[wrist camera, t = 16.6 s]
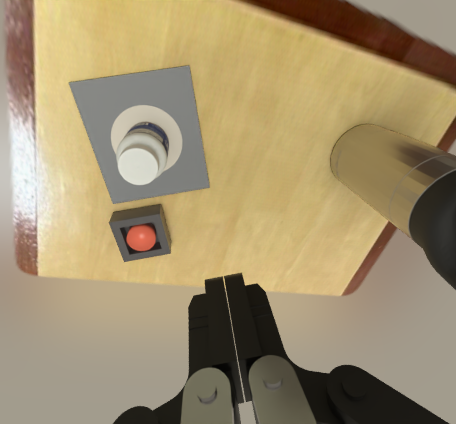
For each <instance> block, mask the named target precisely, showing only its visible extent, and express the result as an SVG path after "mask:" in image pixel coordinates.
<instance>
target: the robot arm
mask: <svg viewBox="0 0 456 424" xmlns="http://www.w3.org/2000/svg"><path fill="white" fill-rule="evenodd" d="M331 168H332V172H333V173H334V175H335V176H336V177H337V178H338V179H339V180H340V181H341V182H342V183H344V184H345V185H346V186H347V187H348V188H349V189H351V190H352V191H353V192H354V193H356V194H357V195H358V196H359V197H360V198H362V199H363V200H364V201H365V202H367V203H368V204H369V205H370V206H371V207H373V208H374V209H375V210H376V211H378V212H379V213H380V214H381V215H382V216H384V217H385V218H386V219H387V220H389V221H390V222H391V223H392V224H393V225H395V226H396V227H397V228H398V229H400V230H401V231H402V232H404V233H405V234H406V235H407V236H408V237H409V238H411V239H412V240H413V241H414V242H416V243H417V244H418V245H419V246H420V247H421V248H423V250H424V252H425V254H426V256H427V258H428V260H429V262H430V264H431V265H432V266H433V268H434V269H435V270H436V271H437V272H438V273H439V274H440V275H441V276H442V277H443V278H444V279H445V280H446V281H447V282H448V283H449V284H450V285H451V286H452V287H453V288H454V289H455V290H456V156H455V155H452V154H450V153H447V152H445V151H442V150H441V149H440V148H437V147H435V146H432V145H429V144H427V143H424V142H421V141H419V140H416V139H413V138H411V137H408V136H405V135H403V134H400V133H397V132H395V131H392V130H387V129H385V128H382V127H379V126H376V125H374V124H363V125H359V126H356V127H354V128H352V129H351V130H349V131H347V132H346V133H345V134H344V135H343V136H342V137H341V138H340V139H339V140H338V142H337V143H336V145H335V147H334V149H333V152H332V155H331ZM224 279H225V285H226V291H227V297H228V302H229V308H230V314H231V320H232V326H233V332H234V338H235V344H236V350H237V356H238V362H239V367H240V372H241V378H242V383H243V388H244V394H245V399H246V402H248V401H252V404H253V410H254V415H255V420H256V424H449V423H448V422H446V421H444V420H443V419H441V418H440V417H438V416H436V415H435V414H433V413H432V412H430V411H428V410H427V409H425V408H423V407H422V406H420V405H419V404H417V403H416V402H414V401H412V400H411V399H409V398H408V397H406V396H404V395H403V394H401V393H400V392H398V391H396V390H395V389H393V388H392V387H390V386H388V385H387V384H385V383H384V382H382V381H380V380H379V379H377V378H376V377H374V376H373V375H371V374H369V373H368V372H366V371H364V370H363V369H361V368H359V367H356V366H352V365H341V366H338V367H336V368H334V369H333V370H332V371H331V372H330V373H321V372H313V371H308V370H305V369H302V368H300V367H298V366H297V365H295V364H294V363H293V362H292V361H291V360H290V359H289V358H288V356H287V354H286V352H285V350H284V347H283V344H282V341H281V338H280V335H279V332H278V328H277V325H276V322H275V319H274V317H273V314H272V311H271V307H270V305H269V301H268V298H267V295H266V292H265V291H264V290H263V289H262V288H261V287H260V286H259V285H258V284H252V285H246V286H245V284H244V280H243V276H242V273H238V274H232V275H227V276H224ZM205 290H206V293H205V294H200V295H195V296H193V298H192V300H191V303H190V305H189V307H188V310H189V311H188V313H189V375H188V379H187V381H186V384H185V386H184V387H183V389H182V390H181V391H180V392H179V394H178V395H177V396H176V397H174V398H173V399H171V400H170V401H168V402H167V403H165V404H163V405H161V406H160V407H158V408H156V409H155V410H153V411H152V410H151V409H149V408H148V407H144V406H137V407H133V408H130V409H128V410H127V411H125V412H124V413H122V414H121V415H120V416H119V417H118V418H117V419H116V420H115V422H114V423H113V424H241V421H240V414H239V407H238V404H239V403H244V399H243V393H242V387H241V381H240V375H239V368H238V362H237V356H236V350H235V345H234V338H233V332H232V326H231V320H230V314H229V308H228V303H227V298H226V292H225V287H224V281H223V276H222V277H217V278H212V279H206V280H205Z"/></svg>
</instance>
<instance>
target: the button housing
mask: <svg viewBox="0 0 456 424" xmlns="http://www.w3.org/2000/svg"><path fill="white" fill-rule="evenodd" d="M145 223H151V224H153V225H154V227H155V228H156V240H155V244H154V246H153V247H152V248H150V249H149V250H146V251H137V250H135V249H133V248H131V247H130V246H129V245H128V243H127V234H128V231H129V228H130V226H134V225H139V224H145ZM109 224H110V227H111V229H112V232H113V234H114V237H115V239H116V242H117V245H118V247H119V250H120V252H121V255H122V257H123V260H124V262H127V261H132V260H138V259H143V258H149V257H154V256H159V255H165V254H170V253H171V239H170V235H169V232H168V228H167V224H166V220H165V217H164V213H163V209H162V206H161V204H158V205H152V206H147V207H141V208H135V209H129V210H123V211H117V212H113V214H112V217H111V219H110V222H109Z"/></svg>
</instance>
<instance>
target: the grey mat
mask: <svg viewBox="0 0 456 424" xmlns="http://www.w3.org/2000/svg"><path fill="white" fill-rule="evenodd" d="M69 85H70V88H71V90H72V93H73V96H74V99H75V101H76V104H77V107H78V110H79V112H80V115H81V118H82V121H83V123H84V126H85V129H86V131H87V134H88V137H89V140H90V142H91V145H92V148H93V151H94V153H95V156H96V159H97V161H98V164H99V167H100V170H101V172H102V175H103V178H104V181H105V183H106V186H107V189H108V191H109V194H110V197H111V200H112V202H113V204H116V203H122V202H127V201H133V200H139V199H145V198H151V197H157V196H163V195H169V194H175V193H181V192H186V191H192V190H198V189H204V188H210V186H209V180H208V174H207V168H206V162H205V157H204V151H203V145H202V139H201V133H200V127H199V121H198V115H197V109H196V103H195V97H194V91H193V85H192V79H191V73H190V67H189V66H182V67H175V68H168V69H161V70H154V71H147V72H140V73H133V74H126V75H119V76H111V77H104V78H97V79H90V80H83V81H76V82H70V83H69ZM144 121H148V122H153V123H155V124H157V125H159V126H160V127H161V128H163V130H164V131H165V132H166V134H167V136H168V139H169V150H168V157H167V163H166V167H165V169H164V171H163V172H162V173H161V175H160V176H158V177H157V178H155V179H154V180H153V181H151V182H150V183H148V184H145V185H135V184H132V183H129V182H128V181H126V180H125V179H124V178H123V177H122V176H121V174H120V172H119V170H118V163H117V159H116V152H117V148H118V146H119V144H120V142H121V140H122V139H123V138H124V136H125V135H126V134H127V132H128V131H129V129H130V128H131V127H132V126H134V125H135V124H137V123H139V122H144Z"/></svg>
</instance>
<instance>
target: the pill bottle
mask: <svg viewBox="0 0 456 424" xmlns="http://www.w3.org/2000/svg"><path fill="white" fill-rule="evenodd" d="M168 150H169V139H168V136H167V134H166V132H165V131H164V130H163V128H161V127H160V126H159V125H157V124H155V123H153V122H148V121H144V122H139V123H137V124H135V125H134V126H132V127H131V128H130V129H129V131H128V132H127V134H126V135H125V136H124V138H123V139H122V140H121V142H120V144H119V146H118V148H117V152H116V159H117V163H118V170H119V172H120V174H121V176H122V177H123V178H124V179H125V180H126V181H128V182H129V183H132V184H135V185H145V184H148V183H150V182H151V181H153V180H154V179H155V178H157V177H158V176H160V175H161V173H162V172H163V171H164V169H165V167H166V163H167V157H168Z"/></svg>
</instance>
